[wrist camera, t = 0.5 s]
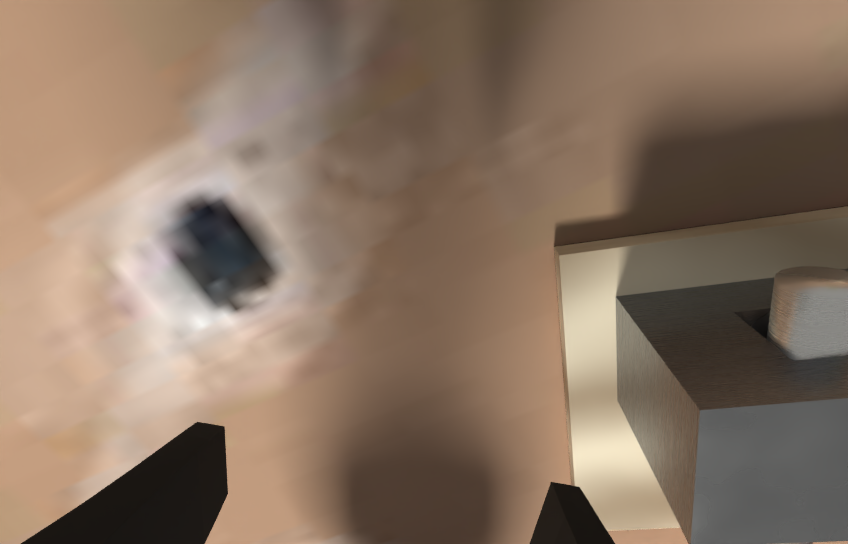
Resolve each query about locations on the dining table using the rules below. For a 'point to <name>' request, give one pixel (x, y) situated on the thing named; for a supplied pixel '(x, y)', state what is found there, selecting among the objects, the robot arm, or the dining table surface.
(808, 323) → the shaft
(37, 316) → the dining table surface
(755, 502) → the shaft stand
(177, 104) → the dining table surface
